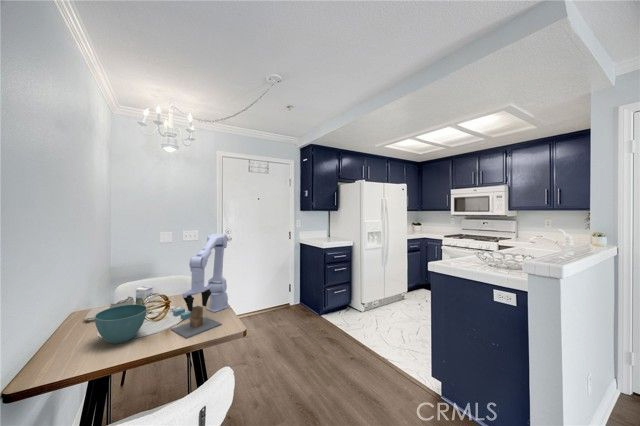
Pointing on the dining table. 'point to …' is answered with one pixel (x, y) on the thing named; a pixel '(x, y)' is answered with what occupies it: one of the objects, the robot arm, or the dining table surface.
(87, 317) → the washcloth
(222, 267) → the robot arm
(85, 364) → the dining table surface
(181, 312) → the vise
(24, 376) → the dining table surface
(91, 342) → the dining table surface
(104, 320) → the teal bowl
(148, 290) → the syrup box
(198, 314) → the walnut block
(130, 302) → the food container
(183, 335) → the rubber mat
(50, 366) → the dining table surface
